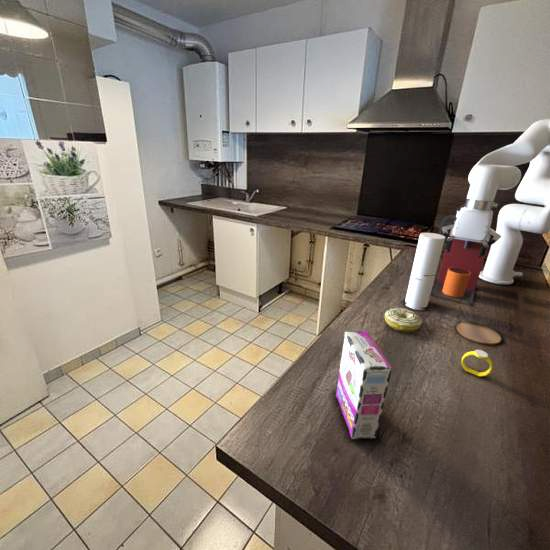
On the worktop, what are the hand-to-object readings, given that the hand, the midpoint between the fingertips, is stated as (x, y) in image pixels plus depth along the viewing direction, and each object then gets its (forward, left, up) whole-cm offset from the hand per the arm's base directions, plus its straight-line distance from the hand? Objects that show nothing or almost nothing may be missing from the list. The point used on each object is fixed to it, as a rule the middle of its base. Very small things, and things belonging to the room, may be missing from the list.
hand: (463, 254), depth 103 cm
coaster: (+6, +25, -16) cm, 31 cm away
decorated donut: (+27, +21, -17) cm, 38 cm away
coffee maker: (-3, -4, -16) cm, 17 cm away
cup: (0, 0, -15) cm, 15 cm away
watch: (+18, +42, -17) cm, 49 cm away
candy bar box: (+50, +55, -17) cm, 76 cm away
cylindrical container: (+17, +8, -17) cm, 25 cm away
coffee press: (-26, -43, -17) cm, 53 cm away
